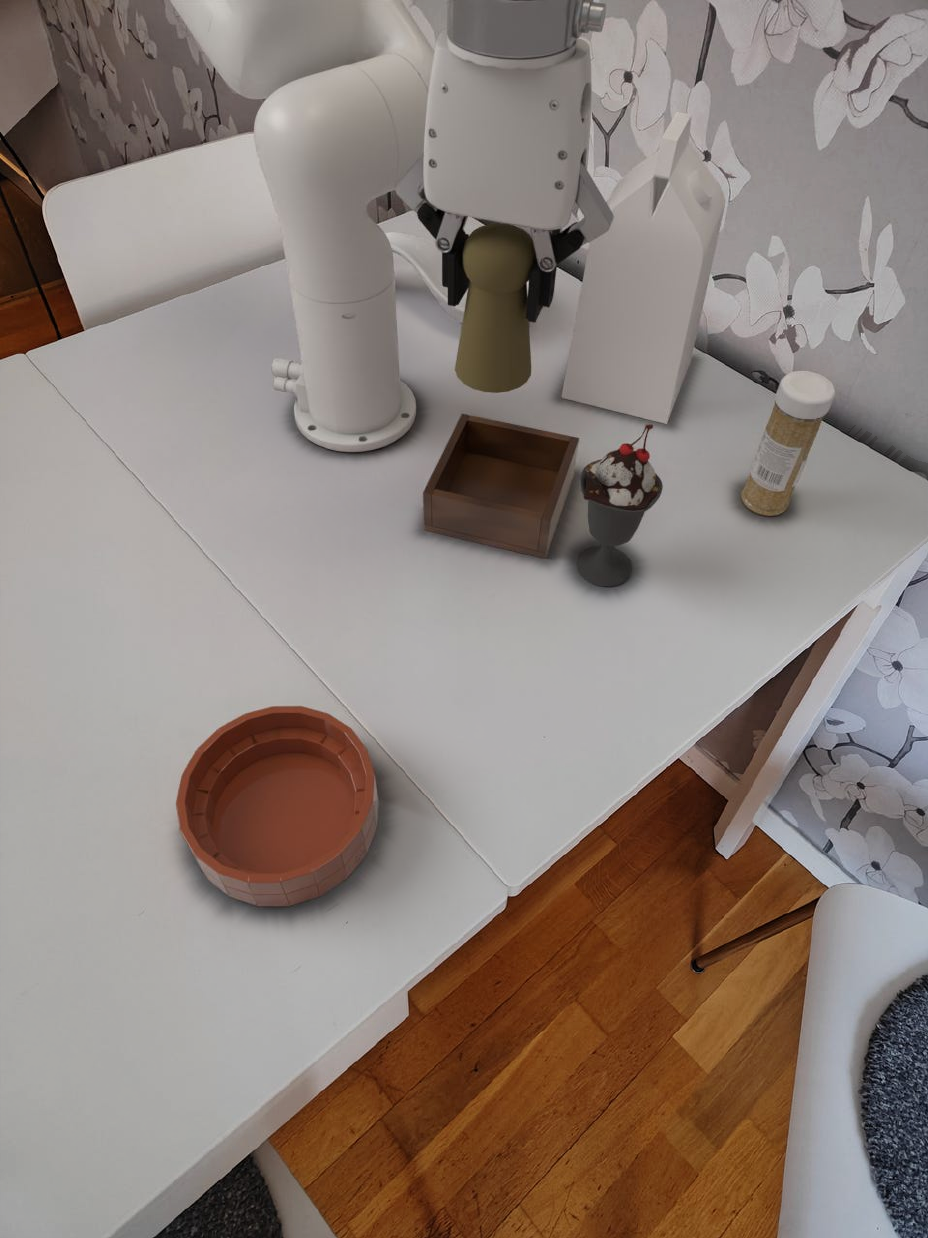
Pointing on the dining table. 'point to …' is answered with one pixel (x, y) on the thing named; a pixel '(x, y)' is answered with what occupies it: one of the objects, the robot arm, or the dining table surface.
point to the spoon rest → (427, 267)
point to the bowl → (279, 805)
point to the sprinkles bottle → (787, 441)
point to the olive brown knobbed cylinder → (496, 309)
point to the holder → (500, 485)
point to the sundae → (616, 509)
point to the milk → (647, 283)
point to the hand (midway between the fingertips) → (496, 301)
